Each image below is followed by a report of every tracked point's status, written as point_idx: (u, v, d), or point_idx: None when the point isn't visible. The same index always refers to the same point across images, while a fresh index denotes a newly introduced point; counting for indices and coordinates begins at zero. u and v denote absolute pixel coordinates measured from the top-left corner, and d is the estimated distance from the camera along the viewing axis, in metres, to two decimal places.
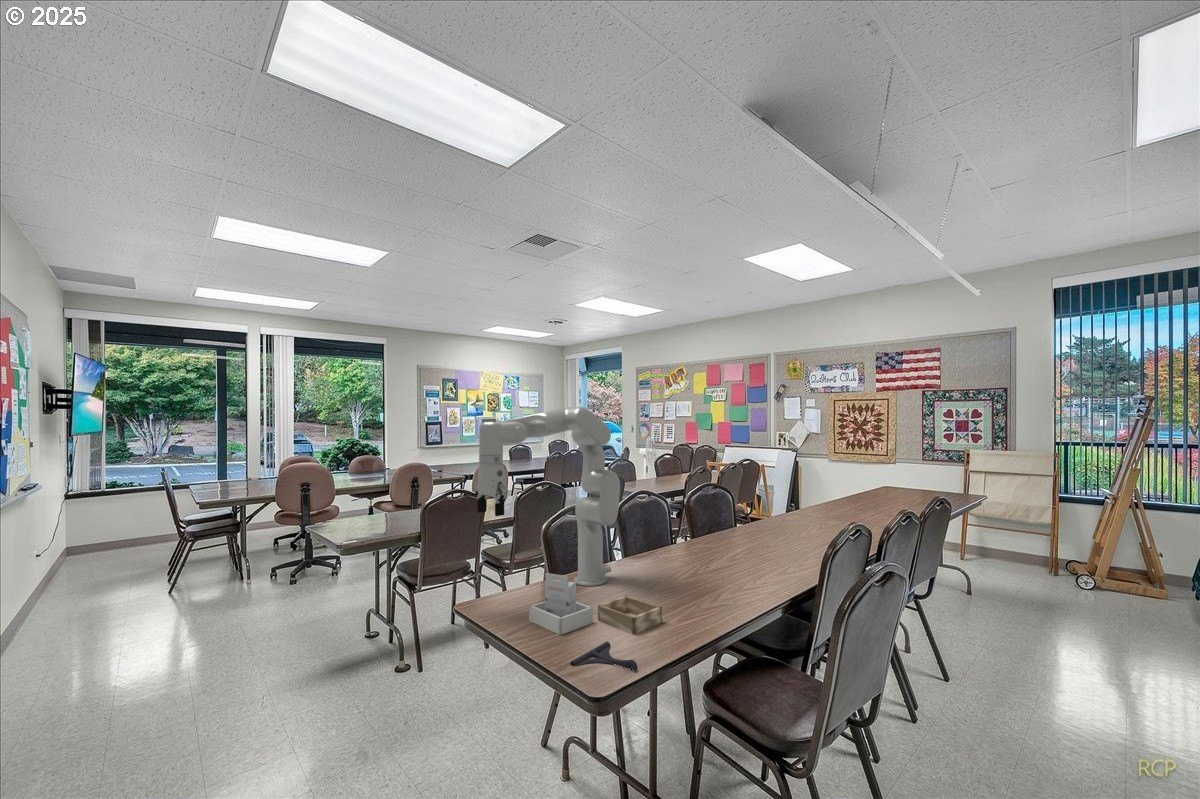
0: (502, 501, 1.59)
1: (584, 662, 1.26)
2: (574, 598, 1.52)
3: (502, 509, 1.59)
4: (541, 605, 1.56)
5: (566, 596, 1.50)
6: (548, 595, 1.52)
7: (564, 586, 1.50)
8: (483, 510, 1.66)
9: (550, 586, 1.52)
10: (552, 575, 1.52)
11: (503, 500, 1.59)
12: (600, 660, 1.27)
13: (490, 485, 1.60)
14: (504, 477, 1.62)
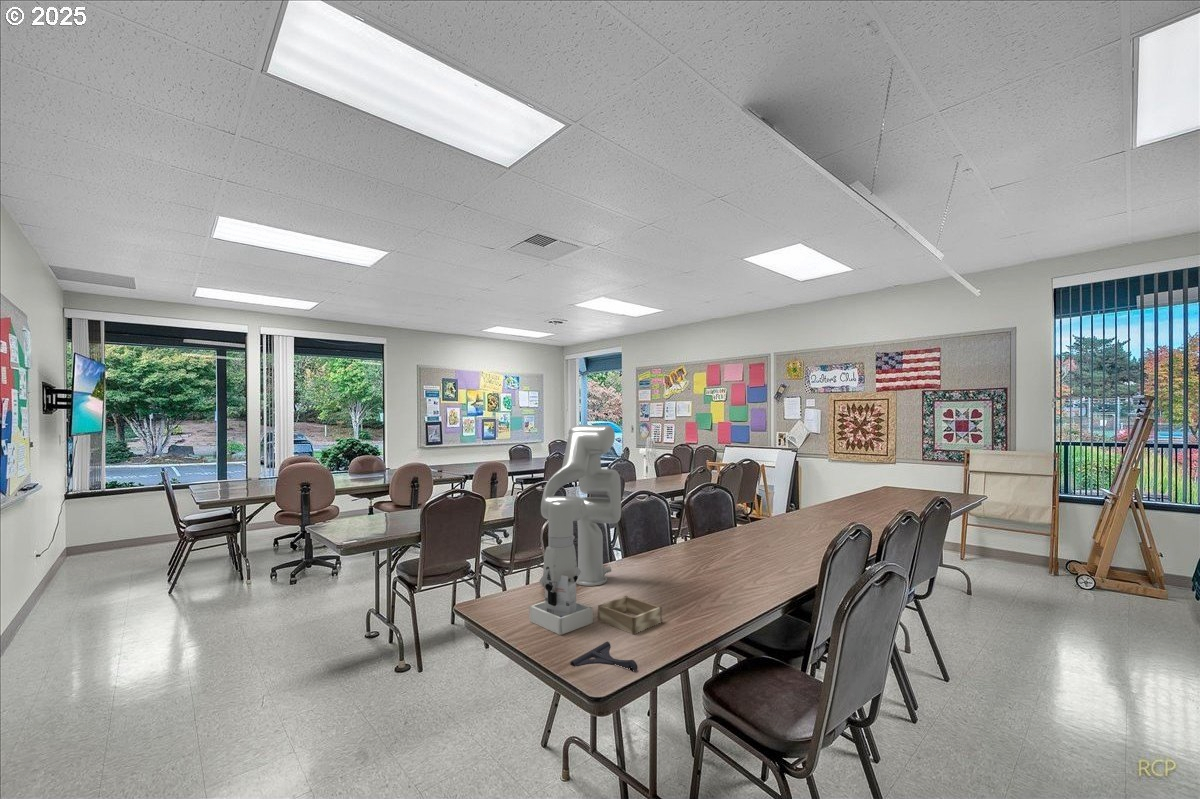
0: None
1: (584, 662, 1.26)
2: (574, 598, 1.52)
3: None
4: (541, 605, 1.56)
5: (566, 596, 1.50)
6: None
7: (564, 586, 1.50)
8: None
9: None
10: None
11: None
12: (600, 660, 1.27)
13: (573, 566, 1.54)
14: None
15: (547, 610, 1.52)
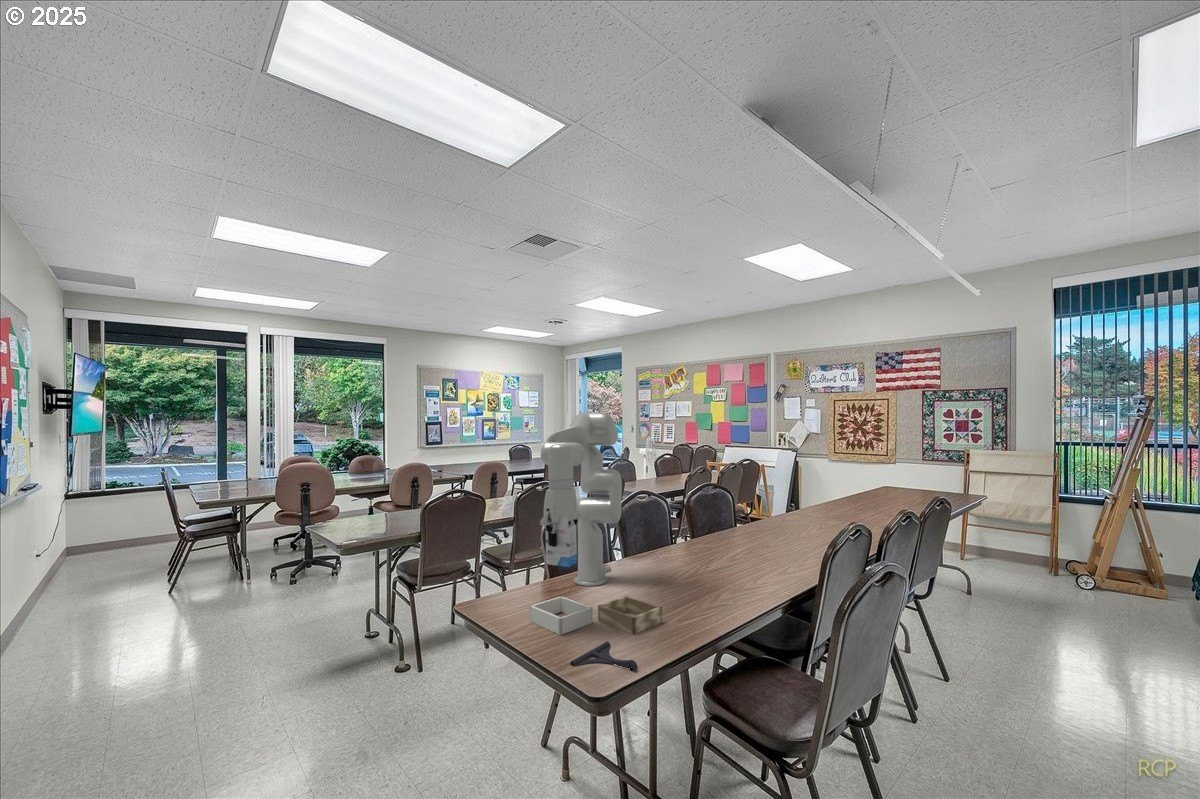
0: None
1: (584, 662, 1.26)
2: (574, 540, 1.54)
3: None
4: (541, 605, 1.56)
5: (566, 537, 1.51)
6: None
7: (564, 527, 1.51)
8: None
9: None
10: None
11: None
12: (600, 660, 1.27)
13: (573, 509, 1.55)
14: None
15: (548, 552, 1.54)
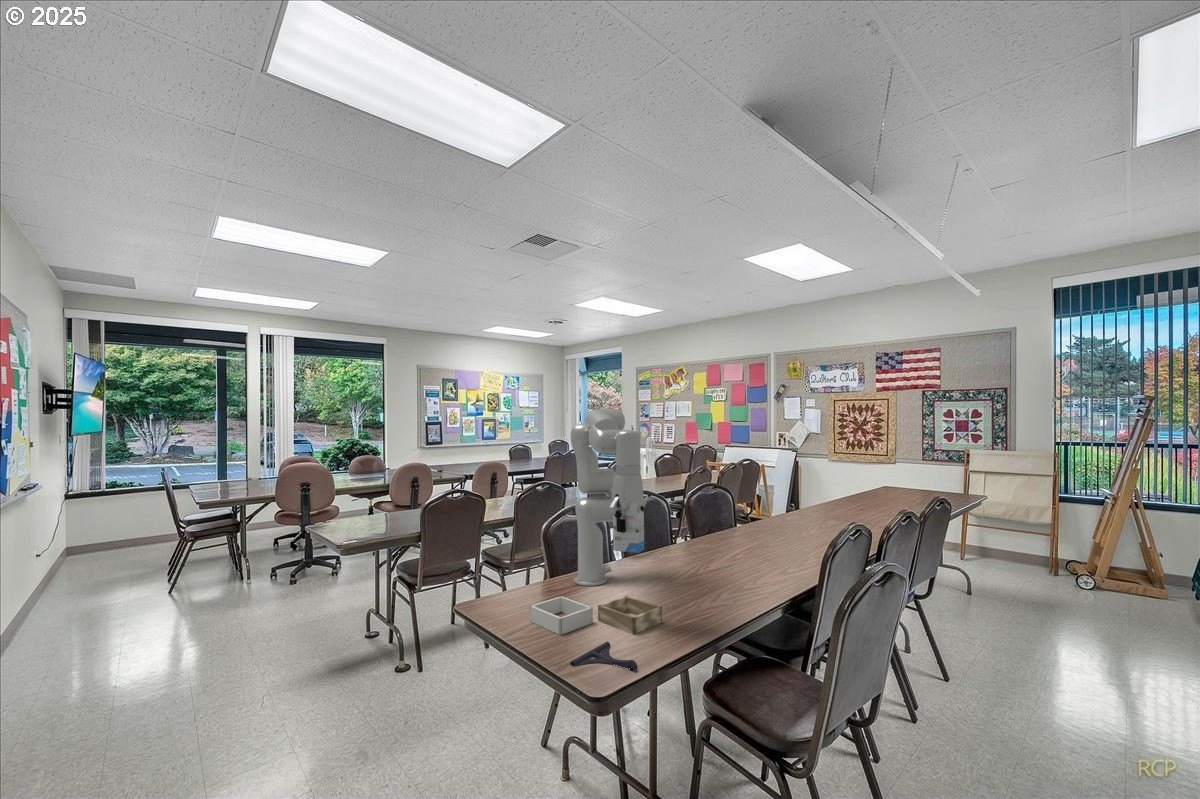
0: None
1: (584, 662, 1.26)
2: (642, 526, 1.54)
3: None
4: (541, 605, 1.56)
5: (635, 523, 1.51)
6: None
7: (633, 513, 1.51)
8: None
9: None
10: None
11: None
12: (600, 660, 1.27)
13: (640, 495, 1.56)
14: None
15: (615, 538, 1.54)
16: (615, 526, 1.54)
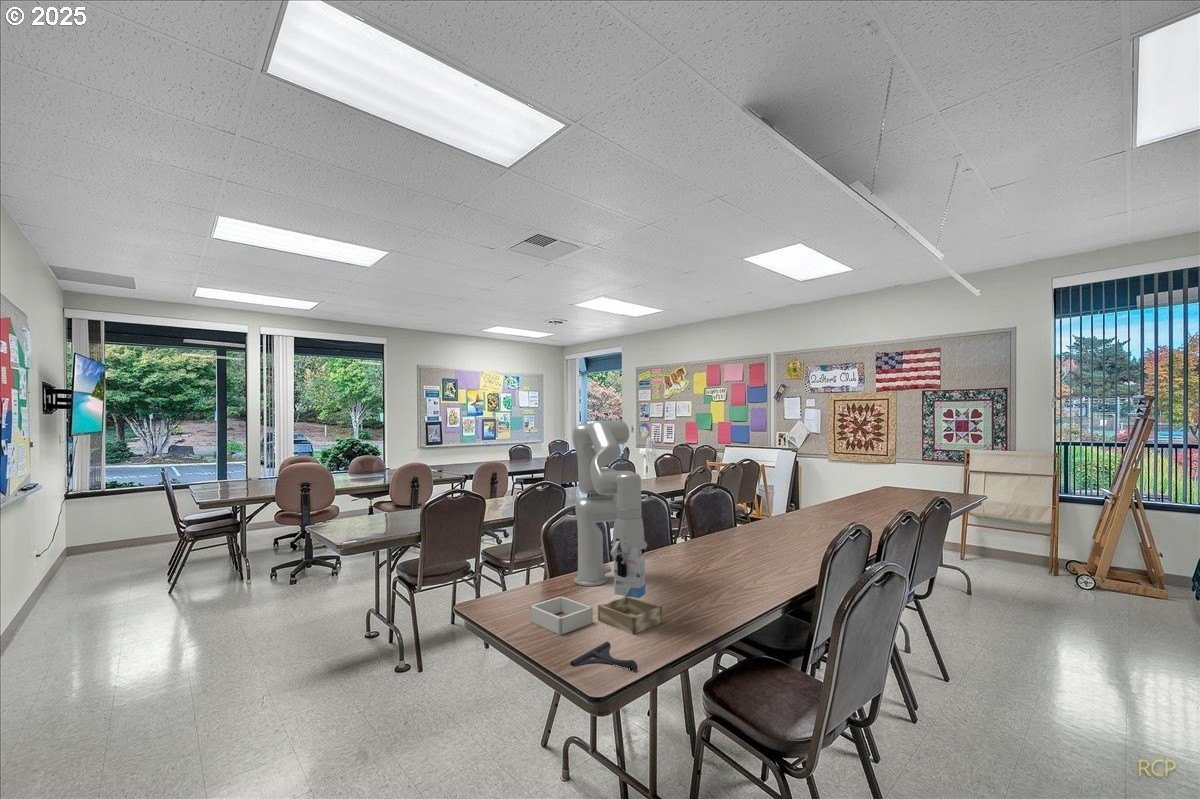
0: None
1: (584, 662, 1.26)
2: (643, 570, 1.53)
3: None
4: (541, 605, 1.56)
5: (636, 567, 1.50)
6: None
7: (634, 558, 1.51)
8: None
9: None
10: None
11: None
12: (600, 660, 1.27)
13: (641, 538, 1.55)
14: None
15: (616, 582, 1.53)
16: (616, 570, 1.53)
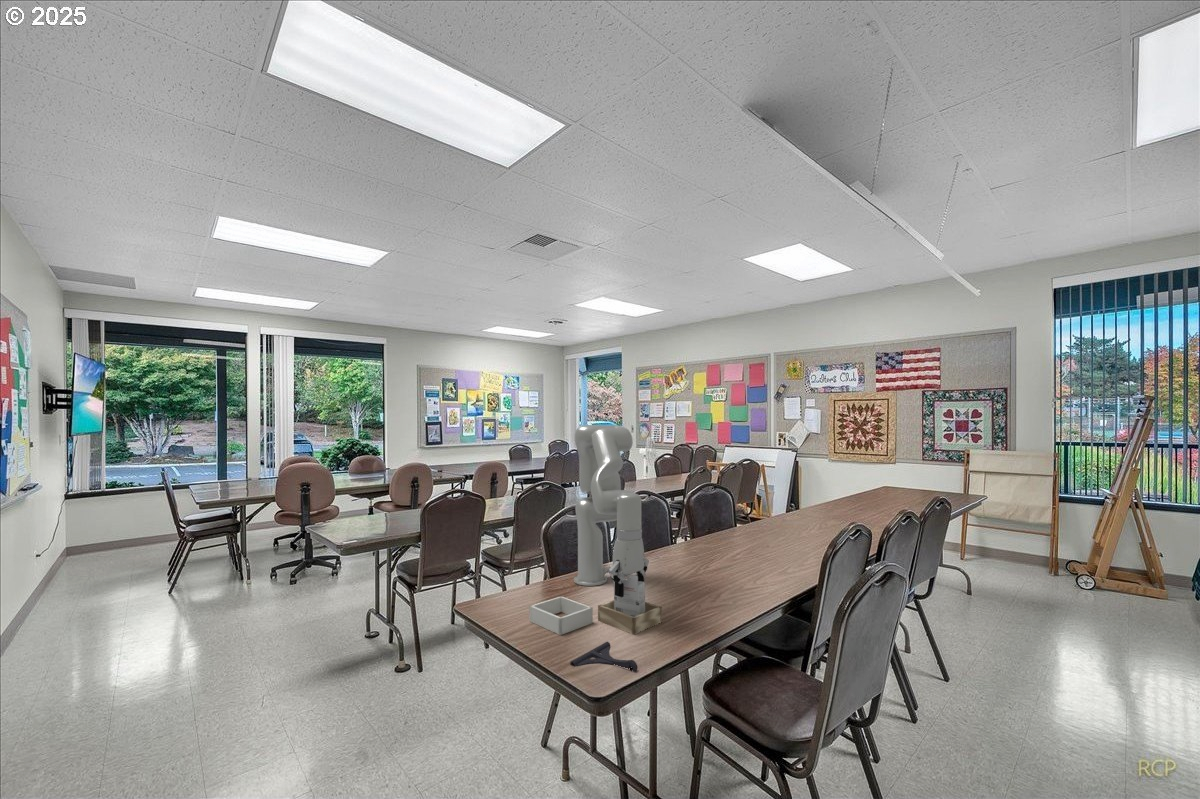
0: None
1: (584, 662, 1.26)
2: (643, 597, 1.52)
3: None
4: (541, 605, 1.56)
5: (636, 595, 1.50)
6: None
7: (634, 585, 1.50)
8: None
9: None
10: None
11: None
12: (600, 660, 1.27)
13: (641, 559, 1.54)
14: None
15: (616, 609, 1.53)
16: (616, 597, 1.53)
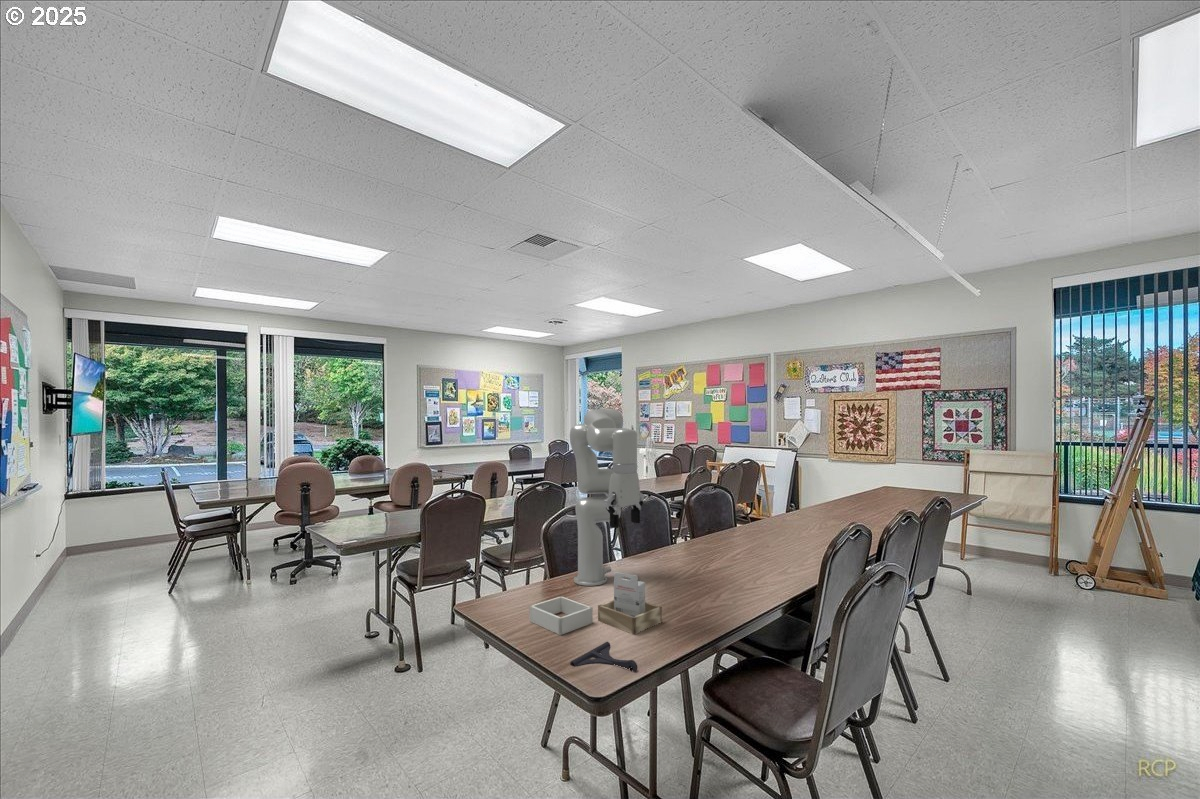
0: None
1: (584, 662, 1.26)
2: (643, 598, 1.52)
3: None
4: (541, 605, 1.56)
5: (636, 595, 1.50)
6: (617, 594, 1.53)
7: (634, 585, 1.50)
8: None
9: (619, 585, 1.53)
10: (621, 574, 1.53)
11: None
12: (600, 660, 1.27)
13: (637, 493, 1.57)
14: None
15: (616, 609, 1.53)
16: (616, 597, 1.53)
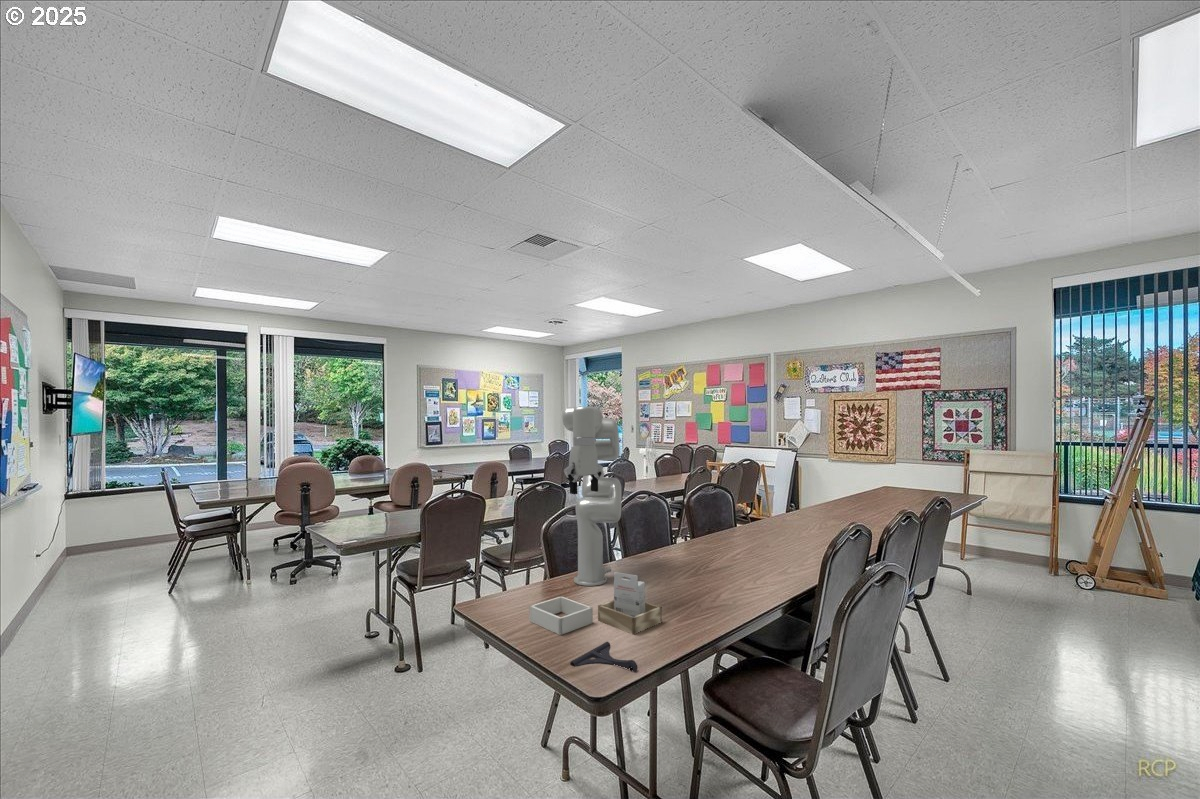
0: None
1: (584, 662, 1.26)
2: (643, 598, 1.52)
3: None
4: (541, 605, 1.56)
5: (636, 595, 1.50)
6: (617, 594, 1.53)
7: (634, 585, 1.50)
8: None
9: (619, 585, 1.53)
10: (621, 574, 1.53)
11: None
12: (600, 660, 1.27)
13: (595, 464, 1.75)
14: None
15: (616, 609, 1.53)
16: (616, 597, 1.53)
